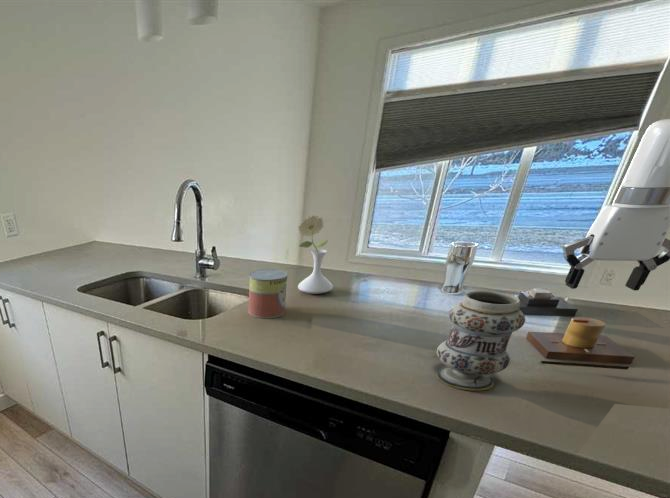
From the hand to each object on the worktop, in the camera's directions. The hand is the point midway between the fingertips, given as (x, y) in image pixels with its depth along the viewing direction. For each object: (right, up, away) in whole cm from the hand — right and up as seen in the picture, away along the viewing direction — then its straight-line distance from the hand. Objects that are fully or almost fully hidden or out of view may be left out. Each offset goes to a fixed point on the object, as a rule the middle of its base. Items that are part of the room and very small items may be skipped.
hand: (600, 287), depth 83 cm
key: (+14, +4, +28) cm, 31 cm away
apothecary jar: (-27, -19, +2) cm, 33 cm away
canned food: (-57, +3, +45) cm, 73 cm away
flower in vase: (-38, +12, +58) cm, 70 cm away
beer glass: (+3, +10, +47) cm, 48 cm away
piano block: (+14, +1, +30) cm, 33 cm away
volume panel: (+1, -14, +7) cm, 15 cm away
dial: (+1, -11, +5) cm, 12 cm away
